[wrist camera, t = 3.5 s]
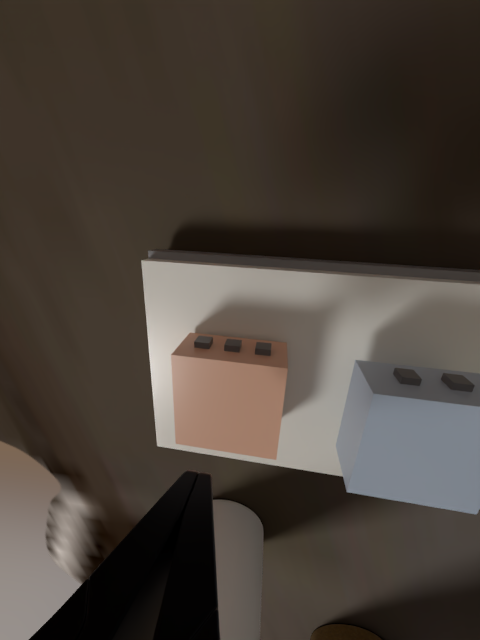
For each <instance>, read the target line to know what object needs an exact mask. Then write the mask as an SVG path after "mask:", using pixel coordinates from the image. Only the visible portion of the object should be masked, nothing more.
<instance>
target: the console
mask: <svg viewBox="0 0 480 640" xmlns="http://www.w3.org/2000/svg"><path fill="white" fill-rule="evenodd" d="M148 257H149V259H145V260H141V261H142V273H143V285H144V296H145V308H146V320H147V332H148V343H149V355H150V367H151V379H152V390H153V402H154V414H155V426H156V437H157V446H160V447H166V448H172V449H178V450H184V451H190V452H196V453H203V454H209V455H215V456H221V457H227V458H233V459H239V460H245V461H251V462H257V463H263V464H269V465H276V466H282V467H288V468H294V469H300V470H306V471H312V472H318V473H324V474H330V475H336V476H343V474H342V470H341V466H340V462H339V458H338V453H337V449H336V442H337V438H338V433H339V429H340V425H341V420H342V416H343V411H344V407H345V403H346V398H347V394H348V390H349V385H350V381H351V376H352V372H353V368H354V363H355V360H362V361H371V362H380V363H389V364H398V365H407V366H416V367H425V368H434V369H443V370H452V371H462V372H471V373H479V374H480V270H472V269H457V268H442V267H426V266H411V265H396V264H380V263H365V262H350V261H334V260H319V259H304V258H288V257H273V256H258V255H242V254H227V253H212V252H196V251H181V250H166V249H154V250H149V251H148ZM189 333H200V334H209V335H219V336H228V337H238V338H247V339H257V340H266V341H275V342H285V343H287V358H288V372H287V380H286V388H285V395H284V403H283V411H282V419H281V427H280V435H279V442H278V450H277V458H276V460H273V459H267V458H261V457H255V456H248V455H242V454H236V453H230V452H224V451H218V450H211V449H205V448H199V447H193V446H187V445H180V444H176V441H175V422H174V403H173V384H172V365H171V354H172V353H173V352H174V351H175V349H176V348H177V347H178V346H179V345H180V344H181V342H182V341H183V340H184V339H185V338H186V337H187V335H188V334H189Z"/></svg>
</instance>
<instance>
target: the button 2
mask: <svg viewBox="0 0 480 640" xmlns="http://www.w3.org/2000/svg"><path fill="white" fill-rule="evenodd" d="M336 449H337V453H338V458H339V462H340V466H341V470H342V474H343V478H344V483H345V487H346V491H347V492H349V493H354V494H360V495H366V496H372V497H378V498H384V499H389V500H395V501H401V502H407V503H413V504H419V505H424V506H430V507H436V508H442V509H448V510H454V511H460V512H465V513H471V514H477V513H478V511H479V509H480V374H479V373H471V372H462V371H452V370H443V369H434V368H425V367H416V366H407V365H398V364H389V363H380V362H371V361H362V360H355V363H354V368H353V372H352V376H351V381H350V385H349V390H348V394H347V398H346V403H345V407H344V411H343V416H342V420H341V425H340V429H339V433H338V438H337V442H336Z"/></svg>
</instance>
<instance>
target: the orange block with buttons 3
mask: <svg viewBox="0 0 480 640" xmlns="http://www.w3.org/2000/svg"><path fill="white" fill-rule="evenodd" d="M171 365H172V384H173V403H174V422H175V441H176V444H180V445H187V446H193V447H199V448H205V449H211V450H218V451H224V452H230V453H236V454H242V455H248V456H255V457H261V458H267V459H273V460H276V458H277V450H278V442H279V435H280V427H281V419H282V411H283V403H284V395H285V388H286V380H287V372H288V358H287V343H285V342H275V341H266V340H257V339H247V338H238V337H228V336H219V335H209V334H200V333H189V334H188V335H187V337H186V338H185V339H184V340H183V341H182V342H181V344H180V345H179V346H178V347H177V348H176V349H175V351H174V352H173V353H172V354H171Z"/></svg>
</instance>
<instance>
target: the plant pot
mask: <svg viewBox="0 0 480 640" xmlns="http://www.w3.org/2000/svg"><path fill="white" fill-rule="evenodd" d="M310 640H382V639H381V638H380V637H378V636H377V635H375V634H374V633H372V632H370V631H367V630H365V629H362V628H360V627H356V626H352V625H345V624H331V625H326V626H322V627H320V628H318V629H316V630H315V631H314V632H313V633H312V635H311V639H310Z"/></svg>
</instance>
